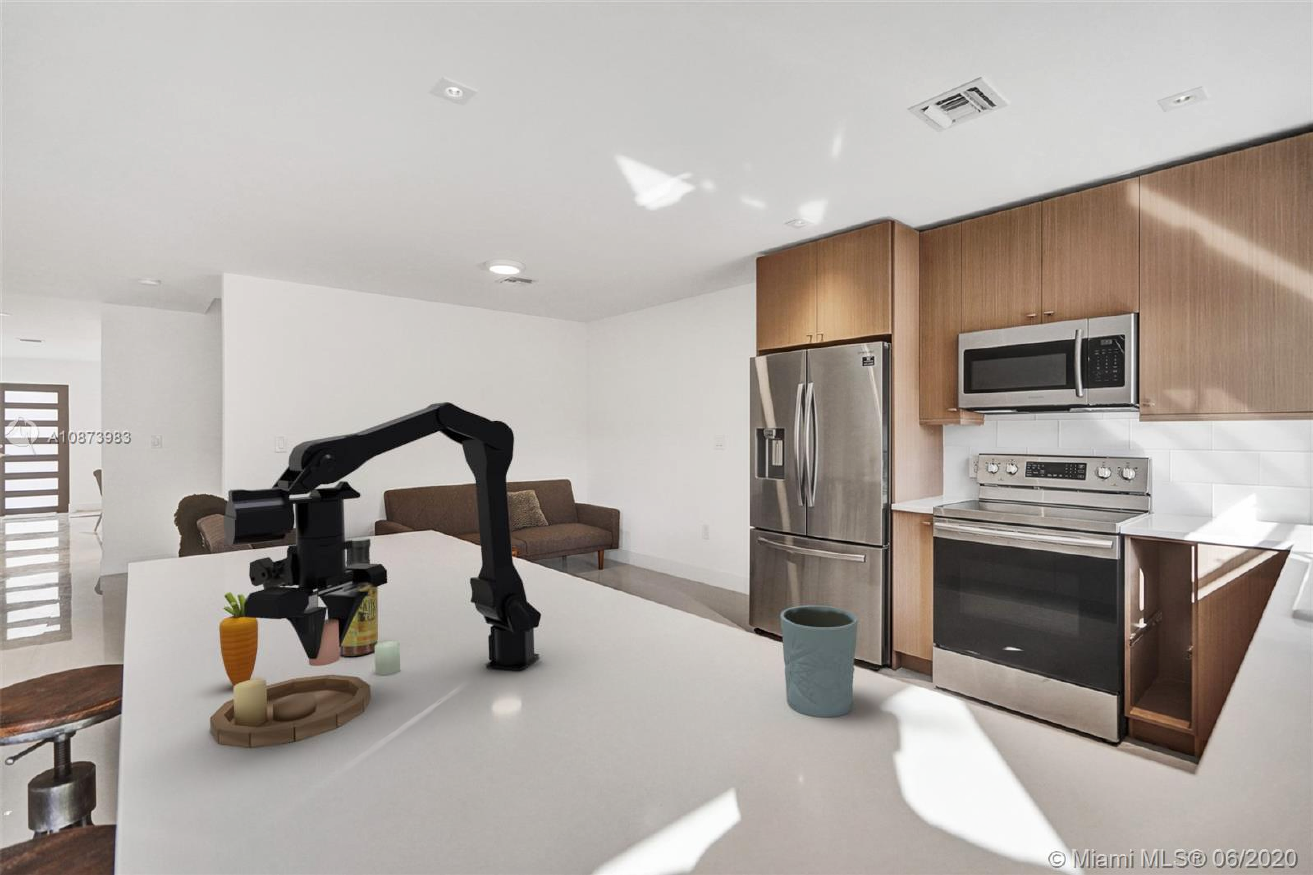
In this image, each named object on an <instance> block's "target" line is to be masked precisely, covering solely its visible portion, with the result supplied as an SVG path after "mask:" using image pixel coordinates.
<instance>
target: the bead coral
mask: <svg viewBox="0 0 1313 875" xmlns="http://www.w3.org/2000/svg"><path fill="white" fill-rule="evenodd" d="M340 655H341V653H340V648H339V621H338V620H336V619H328V618H325V621H324V627H323V633H322V639H321V645H320V649H319V653H318V657H317V658H316V659H309V658H308V664H309V666H311V667H312V666H313V667H320V666H321V667H322V666H327V665H331V664H334V663H337V662H338V661H339V660H340V658H341V657H340Z"/></svg>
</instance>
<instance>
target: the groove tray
mask: <svg viewBox="0 0 1313 875" xmlns="http://www.w3.org/2000/svg"><path fill="white" fill-rule="evenodd" d="M266 690H267V721H266V722H264V723H263V724H261V725H258V726H256V727H246V726H238V725H234V698H232V699H230V700H227V701H226V702H224V703H223V704H222V705H221V706H220V707H219V708H218V709H217V710H216V711H215V712H214V713H213V714H212V715H211V716H210V717H209V724H210V725H209V726H210V727H209V728H210V733H211V735H212V736H213V738H214V739H215V741H216V742H217V743H218V744H219V745H227V746H232V747H240V748H242V747H243V748H257V747H266V746H274V745H275V746H276V745H282V744H286V743H287V744H288V743H294V742H298V741H301V740H304V739H308V738H311V737H315V736H319V735H320V734H324V733H326V732H329V731H333V730H336V729H338V728H339V727H341V726H343V725H344V724H346V723H348V722H350V721H352V720H353V719H354V718H356V717H358V716H359V715H361V714H363V713H364V712H365V710H366V709H367V707H368V704H369V702H370V700H371V696H372V695H371V685H370V684H369V683H367V682H366V681H364V680H363V679H362V678H360V677H359V676H350V675H341V674H340V675H339V674H323V675H315V676H307V677H306V676H305V677H295V678H292V679H288V680H284V681H280V682H276V683H271V684H269V685H266Z"/></svg>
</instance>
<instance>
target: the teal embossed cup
mask: <svg viewBox="0 0 1313 875" xmlns="http://www.w3.org/2000/svg"><path fill="white" fill-rule="evenodd" d="M780 627H781V634H782V635H781V636H782V651H783V662H784V665H785V666H784V676H785V678H784V680H785V688H786V689H785V690H786V691H785V692H786V695H785V696H786V701H787V705H788V706H789V708H791V709H792V710H794V711H795V712H797V713H800V714H802V715H805V716H810V717H814V718H815V717H816V718H836V717H841V716H844V715H845V714H848V713H850V711H851V710H852V708H853V700H854V699H853V697H854V689H853V687H854V686H853V685H854V684H853V683H854V673H855V666H854V663H855V654H856V645H857V635H858V634H857V633H858V617H857V616H856V615H855V613H853V612H851V611H849V610H845V609H842V608H839V607H834V606H826V605H814V604H813V605H799V606H792V607H789V608H786V609H784V610H782V611H781V613H780Z"/></svg>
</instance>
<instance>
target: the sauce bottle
mask: <svg viewBox="0 0 1313 875" xmlns="http://www.w3.org/2000/svg"><path fill="white" fill-rule="evenodd" d="M346 540H352V548H349V549H346V566H348V565H352V564H355V563H366V564H371V559H370V548H371V544H372V543H371V538H369V537H354V538H348V539H346ZM359 586H360V591H367V592H368V596H366V597H365V598H364V599H363V601H362V603H361V605H360V607H359V609H358V611H357V612H356V614H355V616H354V618H353V620H352V622H351V625H350V627H349V629H348V631H347V633H346V635H345V638H344V640H343V642H342V644H341V646H340V648H339V652H340V655H343V656H346V657H356V656H363V655H366V654H369V653H372V652H375V645H376V644H378V641H379V618H378V616H379V609H378V608H379V607H378V606H379V605H378V604H379V603H378V602H379V601H378V599H379V598H378V592H379V591H378V590H379V589H378V587H379V586H377V587H371V586H370V585H369V584H368V583H363V582H362V583H359Z"/></svg>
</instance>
